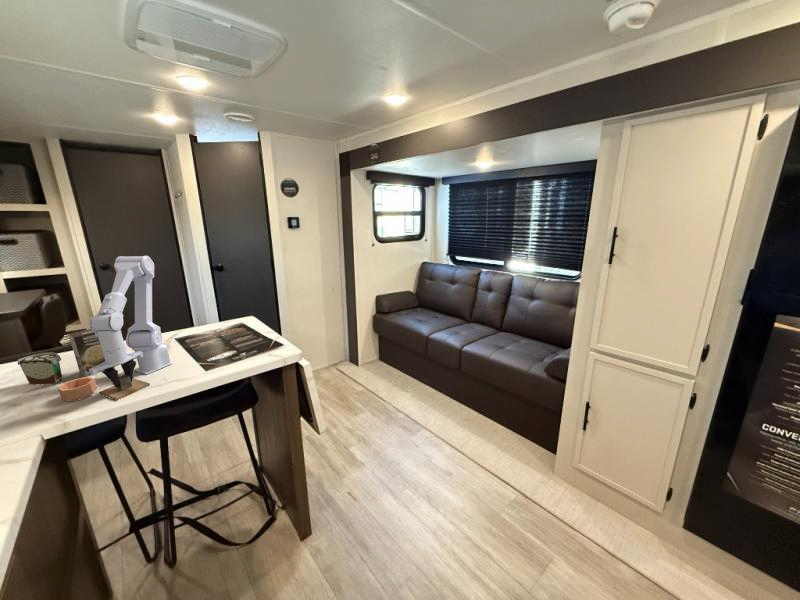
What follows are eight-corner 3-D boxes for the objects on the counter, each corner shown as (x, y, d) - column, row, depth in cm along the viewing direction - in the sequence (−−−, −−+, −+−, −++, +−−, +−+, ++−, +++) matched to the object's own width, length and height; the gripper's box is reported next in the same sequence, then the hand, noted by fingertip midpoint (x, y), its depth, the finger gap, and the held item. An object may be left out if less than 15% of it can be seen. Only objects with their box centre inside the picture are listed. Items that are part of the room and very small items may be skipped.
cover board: (132, 379, 116) (129, 368, 115) (150, 385, 113) (147, 373, 111) (99, 394, 107) (95, 381, 106) (117, 400, 104) (113, 387, 102)
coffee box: (85, 377, 118) (73, 337, 114) (79, 372, 121) (67, 334, 117) (116, 367, 126) (105, 329, 121) (109, 363, 129) (99, 326, 124)
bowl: (89, 386, 112) (85, 375, 111) (102, 391, 109) (98, 380, 108) (58, 399, 105) (54, 387, 103) (71, 404, 102) (66, 392, 100)
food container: (77, 375, 119) (69, 351, 116) (61, 384, 113) (52, 359, 110) (43, 376, 119) (34, 352, 116) (25, 385, 113) (15, 359, 110)
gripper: (130, 338, 113) (139, 372, 117) (79, 355, 100) (91, 392, 104) (143, 341, 111) (151, 375, 115) (92, 358, 98) (103, 396, 102)
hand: (123, 383), depth 109 cm, fingers closed on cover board, 3 cm apart
